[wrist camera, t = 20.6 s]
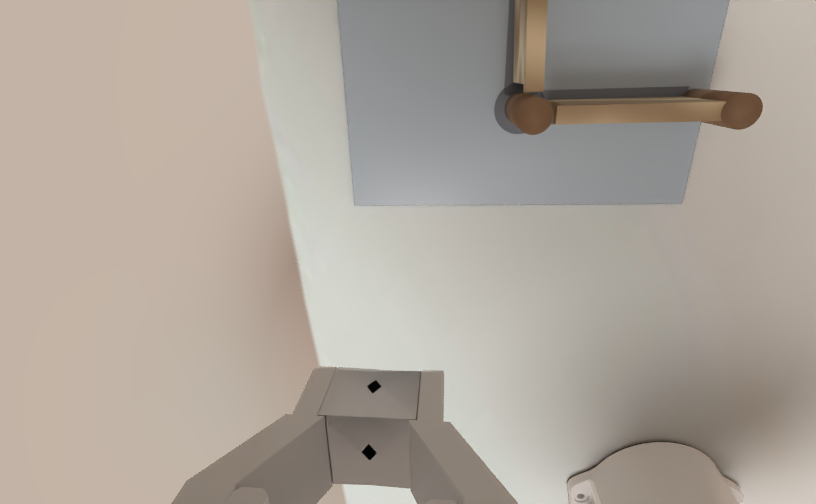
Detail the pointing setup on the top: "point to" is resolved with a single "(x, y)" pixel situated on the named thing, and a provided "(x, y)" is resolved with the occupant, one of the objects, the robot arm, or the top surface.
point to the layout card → (493, 85)
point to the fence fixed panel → (635, 110)
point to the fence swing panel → (530, 44)
